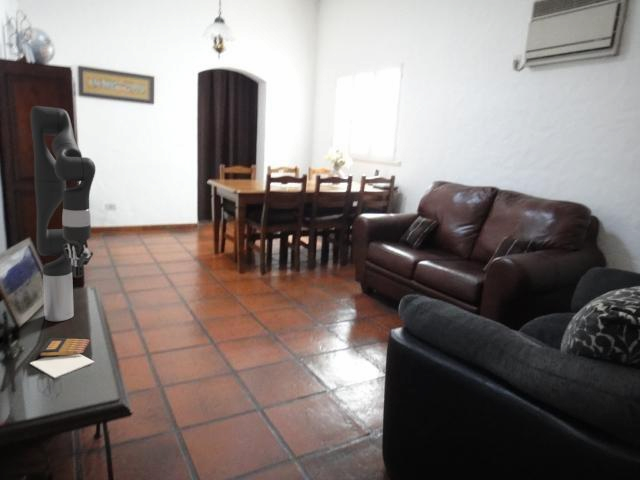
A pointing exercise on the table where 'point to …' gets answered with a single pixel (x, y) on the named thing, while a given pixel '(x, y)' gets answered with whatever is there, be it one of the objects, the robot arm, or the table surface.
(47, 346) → the ammunition clip
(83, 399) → the table surface
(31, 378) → the table surface
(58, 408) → the table surface
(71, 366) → the mat
